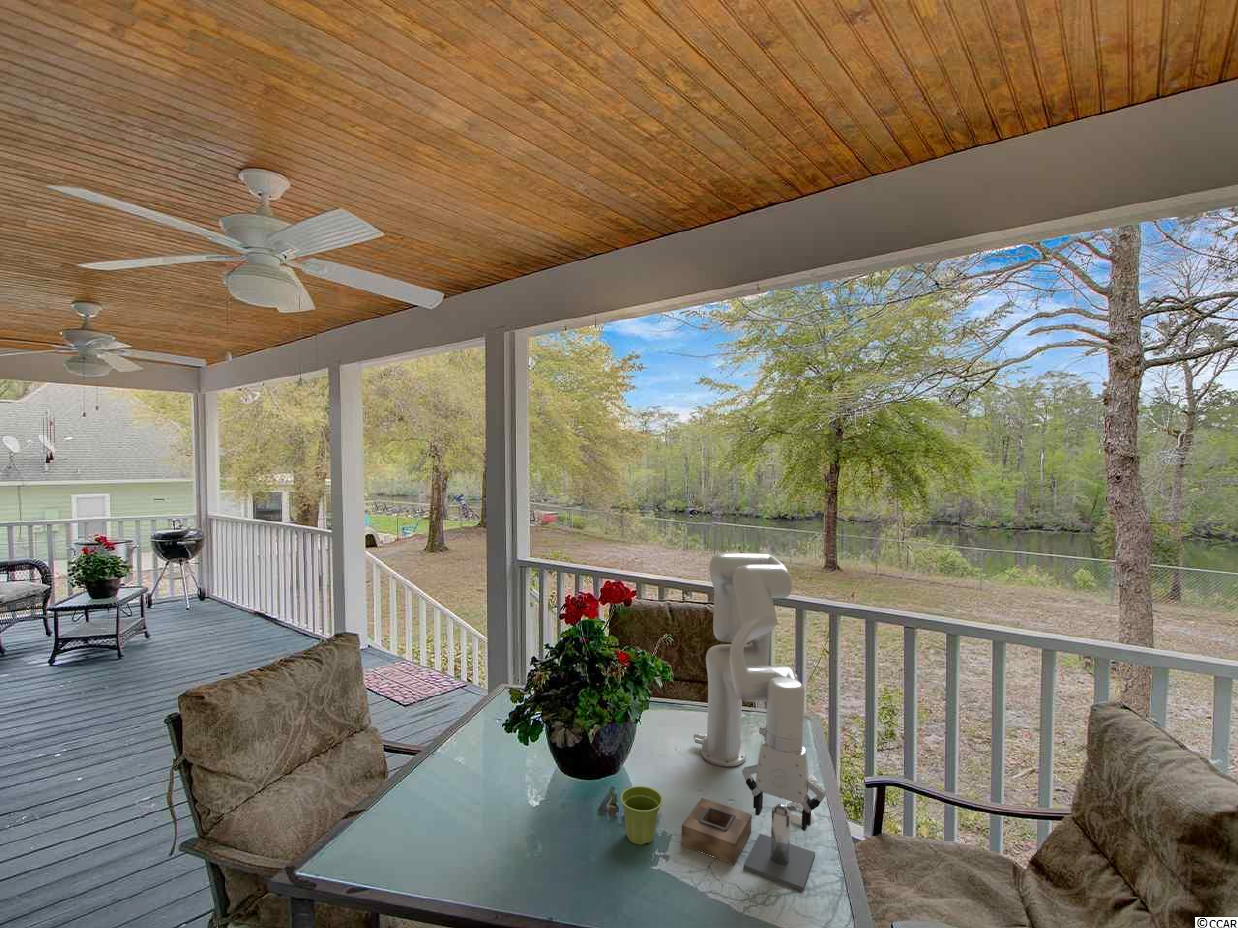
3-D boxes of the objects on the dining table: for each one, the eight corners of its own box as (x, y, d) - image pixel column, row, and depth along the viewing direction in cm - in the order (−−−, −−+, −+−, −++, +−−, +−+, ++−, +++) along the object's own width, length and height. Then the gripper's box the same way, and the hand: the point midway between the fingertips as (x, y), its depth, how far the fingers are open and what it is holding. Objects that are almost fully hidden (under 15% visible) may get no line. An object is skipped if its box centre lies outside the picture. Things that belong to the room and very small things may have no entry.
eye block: (681, 845, 128) (681, 822, 128) (701, 816, 139) (701, 795, 139) (734, 865, 122) (735, 841, 122) (751, 833, 133) (751, 812, 133)
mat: (743, 868, 121) (743, 864, 121) (759, 836, 132) (759, 833, 132) (803, 891, 116) (803, 887, 116) (814, 855, 126) (815, 852, 126)
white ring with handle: (841, 804, 136) (820, 791, 135) (808, 840, 138) (786, 827, 136) (827, 780, 144) (807, 767, 142) (795, 814, 145) (775, 801, 144)
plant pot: (666, 828, 134) (667, 790, 134) (654, 854, 125) (656, 814, 125) (627, 819, 137) (628, 782, 137) (613, 844, 128) (614, 804, 128)
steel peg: (768, 860, 123) (770, 806, 123) (773, 849, 126) (774, 797, 126) (786, 866, 121) (788, 812, 121) (790, 856, 125) (792, 802, 124)
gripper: (738, 735, 124) (736, 815, 125) (823, 758, 116) (820, 843, 116) (749, 722, 131) (746, 797, 131) (830, 742, 122) (827, 823, 123)
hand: (781, 819), depth 124 cm, fingers open, 9 cm apart
